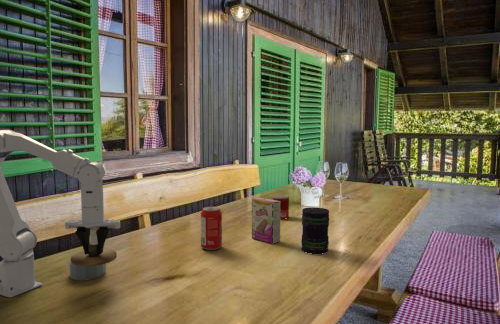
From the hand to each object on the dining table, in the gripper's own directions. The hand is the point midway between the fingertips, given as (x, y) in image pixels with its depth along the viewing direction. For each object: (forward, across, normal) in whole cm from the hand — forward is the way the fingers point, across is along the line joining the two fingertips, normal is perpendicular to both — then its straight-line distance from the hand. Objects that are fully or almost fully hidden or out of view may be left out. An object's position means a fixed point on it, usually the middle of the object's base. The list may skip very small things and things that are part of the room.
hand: (93, 253), depth 111 cm
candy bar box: (+9, +52, +42) cm, 68 cm away
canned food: (+9, +63, +80) cm, 102 cm away
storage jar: (+9, +69, +29) cm, 76 cm away
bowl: (+9, -5, +9) cm, 14 cm away
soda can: (+9, +31, +33) cm, 47 cm away
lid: (+2, 0, 0) cm, 2 cm away
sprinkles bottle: (+10, -10, +30) cm, 33 cm away
